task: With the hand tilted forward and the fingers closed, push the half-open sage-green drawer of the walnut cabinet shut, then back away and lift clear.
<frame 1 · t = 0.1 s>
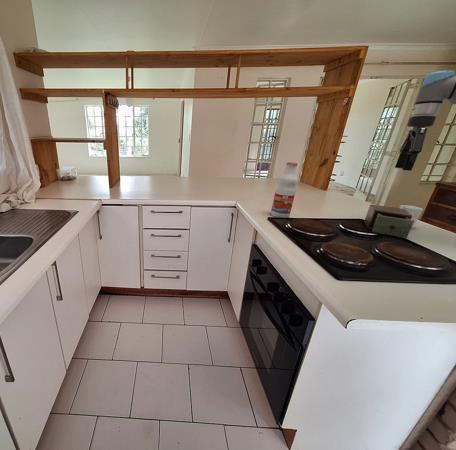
hand: (402, 169, 103), 28 cm above the worktop, tool pointing down, fingers open, 13 cm apart
drawer: (389, 223, 107), point 5 cm above the worktop, slide at 6.0 cm
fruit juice: (279, 215, 128), on the worktop
white cup: (403, 226, 120), on the worktop
cabinet: (382, 228, 115), on the worktop
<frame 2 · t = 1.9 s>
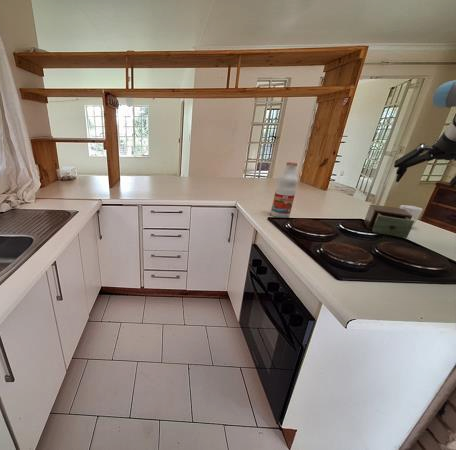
hand: (423, 181, 84), 26 cm above the worktop, tool tilted 45°, fingers open, 13 cm apart
nothing on the worktop moved.
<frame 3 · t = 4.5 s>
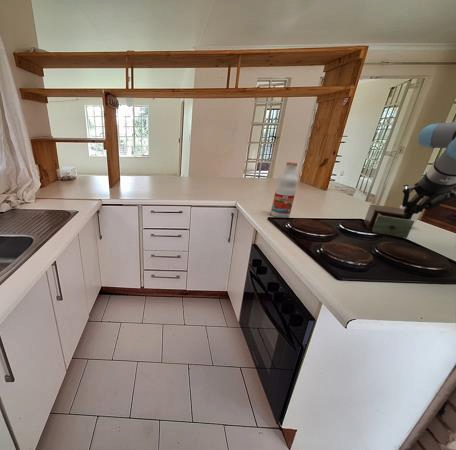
hand: (406, 216, 90), 12 cm above the worktop, tool tilted 45°, fingers closed
nothing on the worktop moved.
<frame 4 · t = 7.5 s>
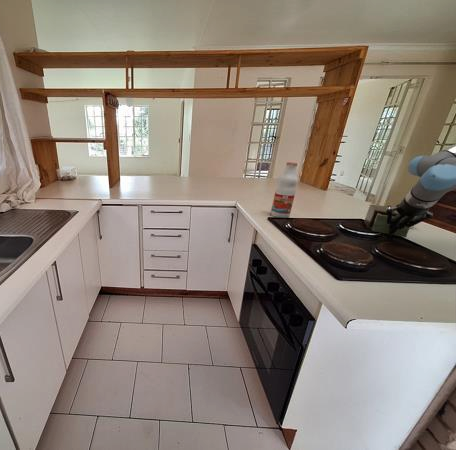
hand: (390, 231, 102), 3 cm above the worktop, tool tilted 45°, fingers closed
drawer: (388, 222, 108), point 5 cm above the worktop, slide at 4.3 cm, touching gripper
everything else where it was.
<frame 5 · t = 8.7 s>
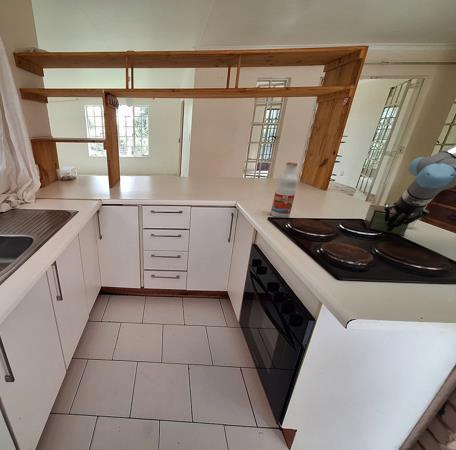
hand: (388, 228, 106), 3 cm above the worktop, tool tilted 45°, fingers closed
drawer: (386, 220, 111), point 5 cm above the worktop, slide at 0.0 cm, touching gripper
everything else where it was.
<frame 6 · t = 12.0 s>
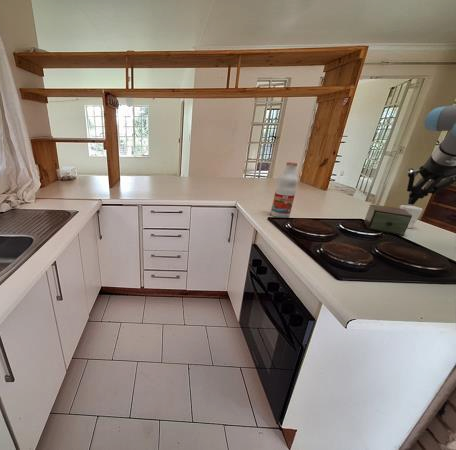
hand: (411, 201, 90), 18 cm above the worktop, tool tilted 45°, fingers closed
drawer: (386, 220, 111), point 5 cm above the worktop, slide at 0.0 cm, touching cabinet
everything else where it was.
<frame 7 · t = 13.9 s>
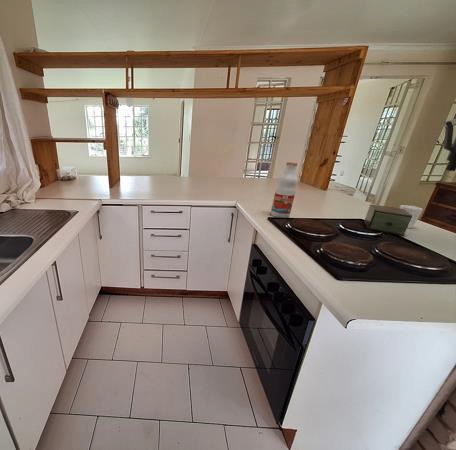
hand: (450, 170, 86), 30 cm above the worktop, tool pointing down, fingers closed
nothing on the worktop moved.
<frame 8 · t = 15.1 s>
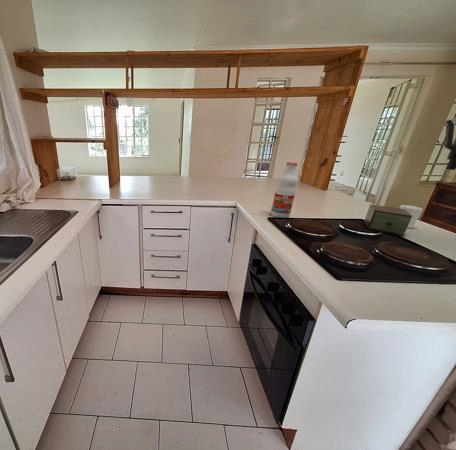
hand: (450, 169, 86), 30 cm above the worktop, tool pointing down, fingers closed
nothing on the worktop moved.
at the end: drawer slide at 0.0 cm; white cup moved 0.2 cm from its start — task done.
